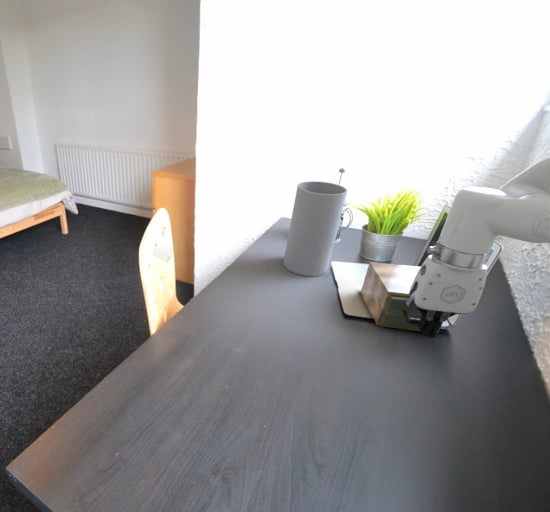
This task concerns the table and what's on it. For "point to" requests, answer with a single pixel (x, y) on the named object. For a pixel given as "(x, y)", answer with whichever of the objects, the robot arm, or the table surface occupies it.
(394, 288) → the cabinet
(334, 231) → the cylinder vase
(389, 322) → the drawer
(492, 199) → the robot arm
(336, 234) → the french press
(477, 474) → the table surface
